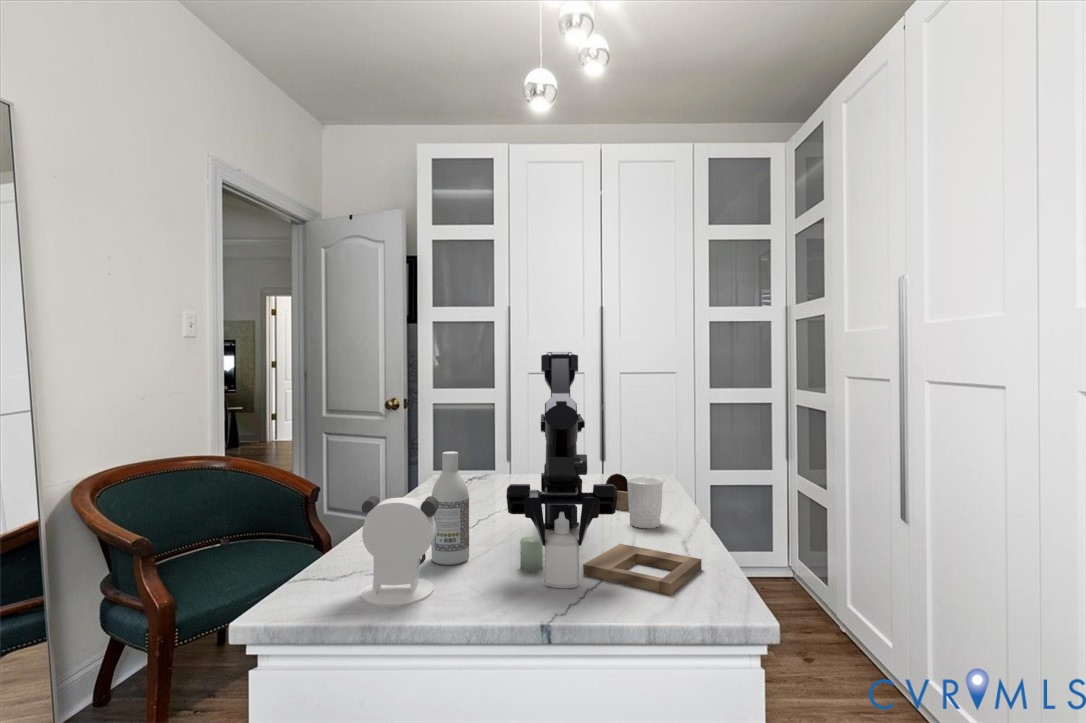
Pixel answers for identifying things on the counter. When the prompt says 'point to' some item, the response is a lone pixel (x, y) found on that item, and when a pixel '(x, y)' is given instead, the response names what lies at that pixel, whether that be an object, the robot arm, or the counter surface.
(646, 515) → the white cup
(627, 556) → the walnut square frame
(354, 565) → the counter surface
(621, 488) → the dark brown rounded piece
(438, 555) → the bath foam
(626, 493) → the walnut watch frame
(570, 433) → the robot arm
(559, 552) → the eye dropper bottle
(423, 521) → the panda figurine
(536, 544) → the pale green rounded cylinder
